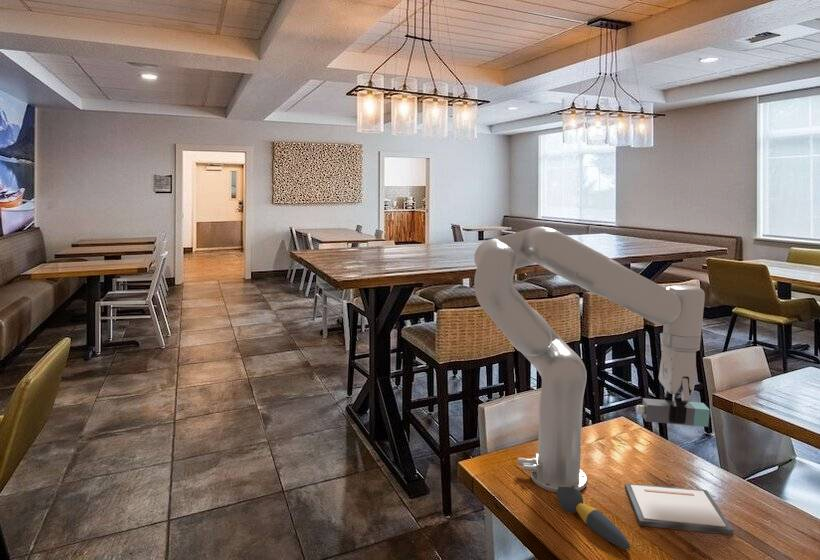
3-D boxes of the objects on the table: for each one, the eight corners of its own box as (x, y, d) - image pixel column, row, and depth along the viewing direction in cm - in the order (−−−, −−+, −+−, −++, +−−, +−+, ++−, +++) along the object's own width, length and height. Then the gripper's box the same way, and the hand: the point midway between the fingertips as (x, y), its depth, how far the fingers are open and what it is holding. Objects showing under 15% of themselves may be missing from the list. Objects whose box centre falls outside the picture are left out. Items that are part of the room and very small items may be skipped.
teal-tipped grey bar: (639, 420, 117) (640, 404, 116) (635, 413, 121) (636, 397, 120) (708, 426, 114) (709, 409, 113) (701, 419, 118) (703, 402, 117)
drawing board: (639, 525, 103) (640, 519, 103) (624, 487, 116) (625, 482, 116) (732, 534, 99) (733, 528, 99) (706, 494, 113) (706, 489, 113)
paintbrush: (641, 546, 97) (643, 522, 96) (624, 556, 94) (626, 531, 93) (561, 496, 114) (562, 475, 113) (545, 503, 111) (545, 482, 110)
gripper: (653, 330, 123) (647, 403, 126) (674, 350, 107) (666, 432, 110) (686, 332, 122) (679, 405, 125) (713, 352, 106) (705, 436, 108)
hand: (673, 417), depth 117 cm, fingers closed on teal-tipped grey bar, 4 cm apart
